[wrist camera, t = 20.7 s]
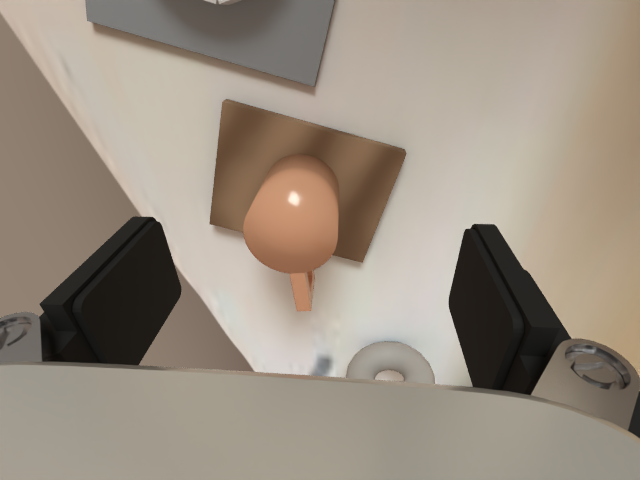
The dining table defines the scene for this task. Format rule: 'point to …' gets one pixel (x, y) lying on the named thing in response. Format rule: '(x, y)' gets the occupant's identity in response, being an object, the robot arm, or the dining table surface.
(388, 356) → the donut
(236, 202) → the walnut board
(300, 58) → the squash holder
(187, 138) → the dining table surface
